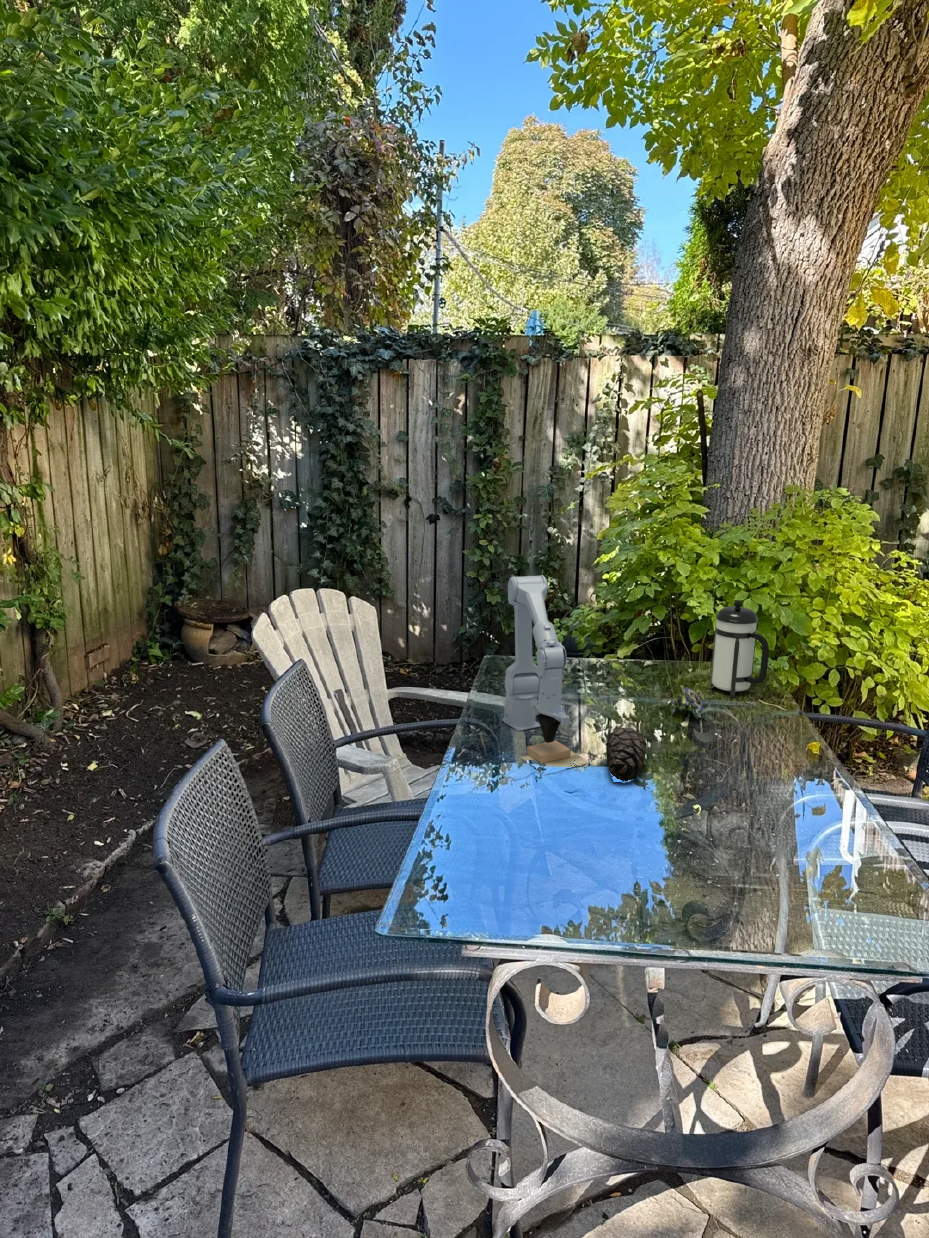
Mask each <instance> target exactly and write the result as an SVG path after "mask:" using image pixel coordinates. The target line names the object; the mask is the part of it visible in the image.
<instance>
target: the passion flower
mask: <svg viewBox="0 0 929 1238" xmlns="http://www.w3.org/2000/svg"><path fill="white" fill-rule="evenodd" d="M679 688H680V690H681V693H682V694H679V695H678V696H677V698H674V700H672V699H671V698H670V693H668V692H666V697H667V699H668V700H670V702H669V703H668V704H666V706H665V709H668V708H669V707H670V706H672V705H673V709H672V711H671V714H670V716H671V715H673V714H674V713H675V712H677V711H678V710H679V708H681V707H682V706H684V710H685V709H686V710H689V707H690V706H691V709H692V715H693V717H694V718H695V719H696V720H699V719H698V718H701V719H702V715H701V714H702V712H703V711H704V703H703V701H707V699H706V697H705V695H704V693H703V691H702V690H701V689H697V690H696V691H694V690H693V689H692V688H690V687H689V688H688V687H687V686H686V687H684V685H681V684H680V685H679ZM701 699H702V700H703V701H702V700H701Z"/></svg>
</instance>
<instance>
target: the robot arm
mask: <svg viewBox="0 0 929 1238" xmlns="http://www.w3.org/2000/svg"><path fill="white" fill-rule="evenodd" d="M548 588H549V586H548V581H547V578H546V577H545V575H543V574H541V575H528V576H526V575H525V576H514V575H513V576H511V577H509V580H508V583H507V601H508V604H509V605H511V606H513V609H514V645H515V646H514V649H515V650H514V653H515V655H514V656H515V661H514V662H513V663H512V664H510V665H509V666H508V667H507V668H506V669H505V678H504V688H505V692H506V695H505V697H504V701H503V702H504V704H503V705H504V709H503V711H504V712H503V713H504V714H503V715H504V716H503V718H502V719H503V721H504V723H505V724H506V725H508V726H509V727H511V728H513V729H514V730H515V731H517V732H522V731H526V730H530V729H535V728H541V732H542V737H543V741H544V743H545V742H546V743H549V742H553V741H554V740H555V737H556V734H557V731H558V729H559V727H560V725H562V726H564V725H569V724H570V716H569V715H568V714H567V713H566V712H565V706H564V705H562V696H563V695H562V693H563V669H565V668H566V667H567V662H568V661H567V659H568V658H567V650H566V649H565V646H564V645H562V643H561V642H560V641H559V639H558V635H557V632H556V630H555V625H554V624H553V623H552V622H550V621H549V619H548V615H547V609H546V603H545V601H546V599H547V594H548ZM532 622H533V623H534V626H533V623H532ZM532 627H533V628H532ZM533 637H534V641H535V647H536V649H537V652H536V662H537V663H534V662H533ZM536 664H537V665H536ZM536 711H538V712H539V713H540V714H536ZM505 720H506V721H505ZM536 720H537V721H536ZM503 721H502V722H503Z"/></svg>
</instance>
